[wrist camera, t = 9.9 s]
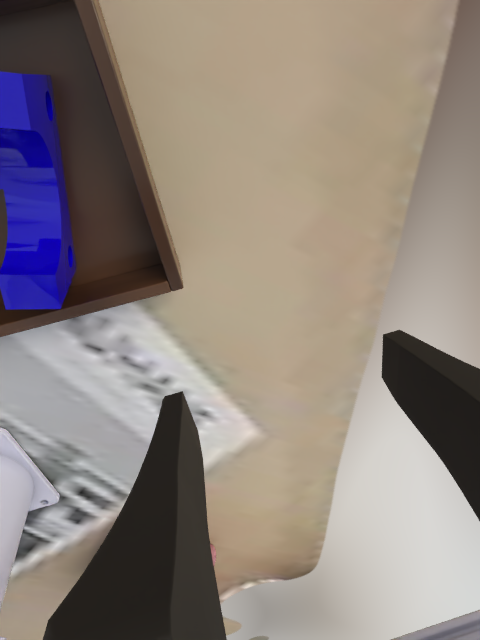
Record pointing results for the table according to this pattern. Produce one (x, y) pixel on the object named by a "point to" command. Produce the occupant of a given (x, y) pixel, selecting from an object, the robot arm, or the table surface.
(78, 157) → the box
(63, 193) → the cable holder
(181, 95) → the table surface
